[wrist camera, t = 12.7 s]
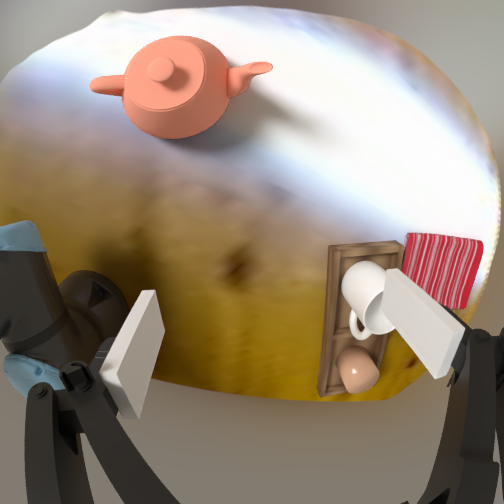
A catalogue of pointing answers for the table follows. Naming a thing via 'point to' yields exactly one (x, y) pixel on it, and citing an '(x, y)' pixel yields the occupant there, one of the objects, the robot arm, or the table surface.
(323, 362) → the caddy
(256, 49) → the table surface
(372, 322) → the mug
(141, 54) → the teapot
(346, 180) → the table surface
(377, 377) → the peach rounded cylinder
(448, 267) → the dish towel
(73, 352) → the robot arm
